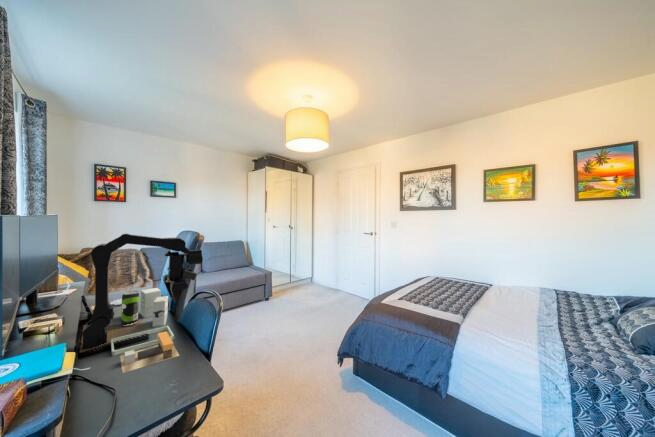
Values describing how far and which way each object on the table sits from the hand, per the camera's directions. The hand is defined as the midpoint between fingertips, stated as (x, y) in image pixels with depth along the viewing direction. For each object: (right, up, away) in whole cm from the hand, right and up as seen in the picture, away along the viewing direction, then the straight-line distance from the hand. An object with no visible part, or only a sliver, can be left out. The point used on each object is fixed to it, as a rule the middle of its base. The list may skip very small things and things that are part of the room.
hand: (174, 300), depth 110 cm
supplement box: (-23, -13, +17) cm, 31 cm away
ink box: (-11, -14, +7) cm, 19 cm away
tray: (-5, -14, -12) cm, 19 cm away
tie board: (+5, -14, -22) cm, 26 cm away
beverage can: (-24, -13, +5) cm, 28 cm away
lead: (+5, -13, -22) cm, 26 cm away
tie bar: (+8, -10, -19) cm, 23 cm away
